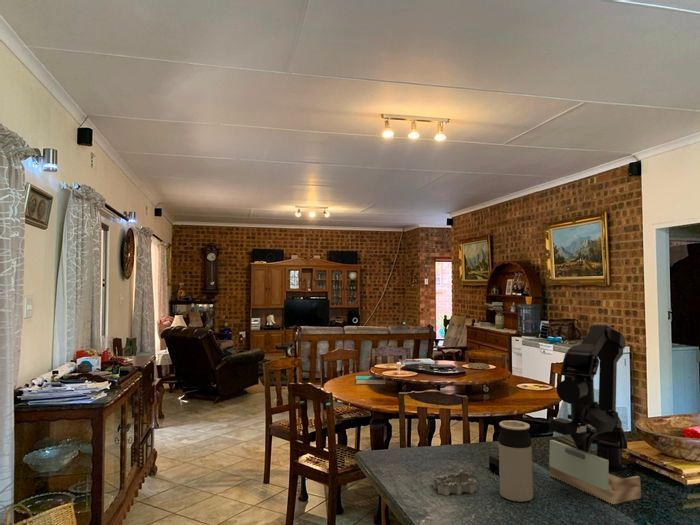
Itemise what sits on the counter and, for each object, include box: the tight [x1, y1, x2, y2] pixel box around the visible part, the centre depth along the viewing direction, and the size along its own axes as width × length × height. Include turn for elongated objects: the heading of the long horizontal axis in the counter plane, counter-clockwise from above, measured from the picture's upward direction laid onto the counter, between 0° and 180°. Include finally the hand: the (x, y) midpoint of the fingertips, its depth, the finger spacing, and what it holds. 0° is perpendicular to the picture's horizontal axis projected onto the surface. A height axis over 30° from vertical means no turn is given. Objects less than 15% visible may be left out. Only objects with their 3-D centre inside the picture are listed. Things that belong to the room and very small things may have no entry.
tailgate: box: [548, 439, 609, 490], centre depth 127 cm, size 2×18×7 cm, turn 22°
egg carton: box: [431, 468, 478, 496], centre depth 128 cm, size 11×8×4 cm
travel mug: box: [498, 419, 534, 503], centre depth 124 cm, size 8×8×18 cm
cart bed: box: [549, 466, 642, 505], centre depth 129 cm, size 10×20×5 cm, turn 22°
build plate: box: [484, 453, 499, 476], centre depth 141 cm, size 12×7×5 cm, turn 20°
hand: (584, 456), depth 129 cm, fingers closed
